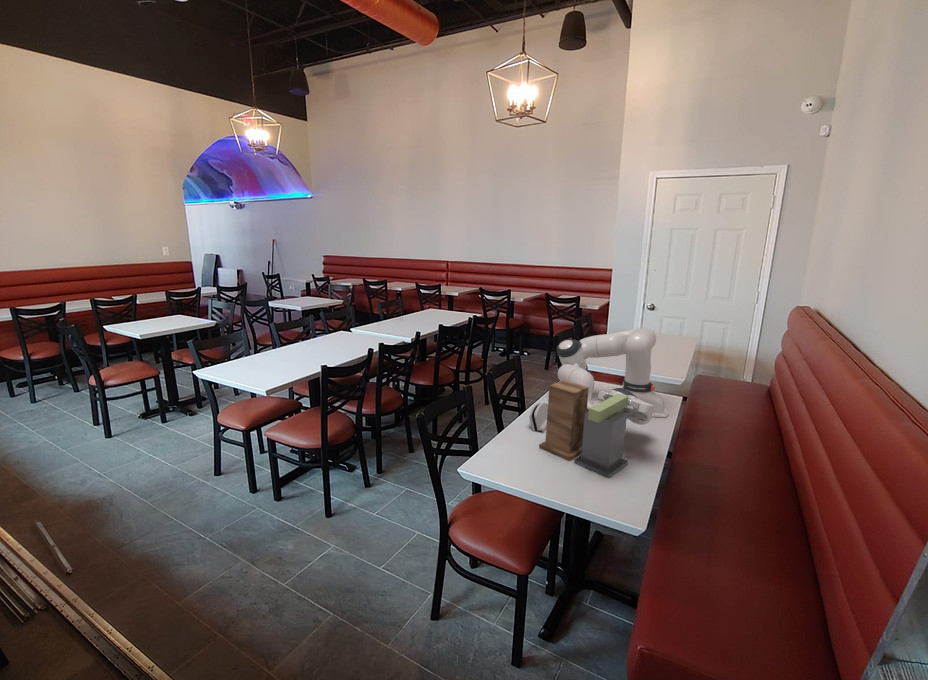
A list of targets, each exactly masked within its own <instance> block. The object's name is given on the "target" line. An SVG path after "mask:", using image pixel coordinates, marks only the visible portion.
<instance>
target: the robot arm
mask: <svg viewBox="0 0 928 680" xmlns="http://www.w3.org/2000/svg"><path fill="white" fill-rule="evenodd" d="M656 343H657V336H656V333H655V332H654V330H652V329H651V328H648V327H639V328H634V329H629V330H623V331H619V332H613V333H606V334H597V335H591V336H587V337H584V338H582V339H580V340H576V339H564V340H562V341H560V342H559V343H558V345H557V346H556V353H557V355H558V357H559V360H560V363H561V366H560V367H559V368H558V370H557V377H558V380H559V382H560V381H562V380H567V381H570V382H573V383H577V384H580V385H584V386H587V387H589V391H588V402H587V412H588V411H589V408H591V407H593V406H595V404H593V401H592V399H593V392H594V389H595V379H594V376H593V374H592V373H591V372H589V367H588V364H587V362H586V359H590V358H593V359H594V358H595V359H597V358H609V357H618V356H624V355H625V371H624V378H623V381H622V387H615V388H613V389H611V390H610V392H607V391H603V390H599V393H598V394H597V400H598V401H599V402H603V401H605V400H607V399H609V398H611V397H613V396H615V395H617V394H621V395H625V396H628V402H627V406H626V407H625V408H624V409H622V410H620V411H618V412H621V413H624V414H627V420H629V421H630V422H632V423H634V424H637V425H642V426H643V425H644V426H645V425H646V424H649V422H650V421H651V420H652V418H667V417H668V416H669V410H668V409H667V407H666V406H665V405H664V400H663V398H662V397H661V396H660V395H659V394H658V393H656V392H655V390H656V387H655V385H654V384H653V383H652V381H650V379H651V378H650V377H651V372H652V371H651V369H652V366H651V365H652V363H651V362H652V361H651V357H652V349H653V348H654V346H655V345H656Z"/></svg>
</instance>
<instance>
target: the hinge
mask: <svg viewBox="0 0 928 680" xmlns="http://www.w3.org/2000/svg"><path fill="white" fill-rule="evenodd" d="M547 413H548V402H547V403H546V402H542V403H541V402H540V403H538V404H535V405H534V406H532V407H531V410H530V411H529V414H528V415H529V416H528V417H529V422H530V426H531V430H532V432H536V431H537V432H539V431H541V433H542V434H545V433H546V428H547Z"/></svg>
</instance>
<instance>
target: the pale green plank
mask: <svg viewBox="0 0 928 680" xmlns="http://www.w3.org/2000/svg"><path fill="white" fill-rule="evenodd" d="M627 402H628V396H625V395H621V394H617V395H615V396H613V397H611V398H609V399H607V400H605V401H603V402H602V401H600V402H599V403H597V404H594V406H593V407H591V408H589V413H588V419H589V420H592V421H595V422H598V423H599V422H600V421H602V420H604V419H606V418H608V417H609V416H611V415H613V414H615V413H617V412H618V411H620V410H622V409H624V408H625V407H626V406H627Z"/></svg>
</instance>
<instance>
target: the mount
mask: <svg viewBox="0 0 928 680" xmlns="http://www.w3.org/2000/svg"><path fill="white" fill-rule="evenodd" d="M588 413H589V411H588V412H586V413H585V419H584V430H583V441H582V453H581V454H580V455H579V456H577V457H575V458H574V459H573V460H574V462H573V464H574V465H576V466H579V467H582V468H584V469H586V470H589V471H590V472H593V473H596V474H598V475H600V476H603V477H605V478H607V479H610V478H612V477H613V476H614V475H616V474H617V473H618V472H619V471H621V470H622V469H623V468H625V467H626V466H628V464H629V460H628V459H625V458H623V454H624V444H625V437H626V429H627V428H626V427H627V420H628V419H627V414H624V413H621V412H617V413H615V414H613V415H611V416H609V417H608V418H606V419H604V420H602V421H600V422H599V423H598V422H595V421H592V420H589V419H588Z"/></svg>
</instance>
